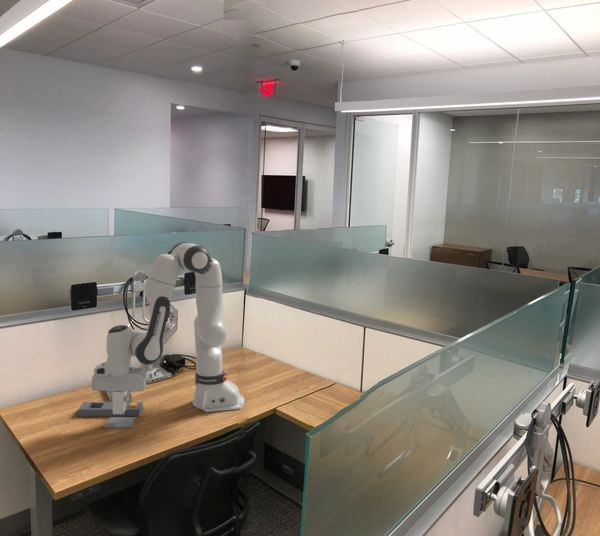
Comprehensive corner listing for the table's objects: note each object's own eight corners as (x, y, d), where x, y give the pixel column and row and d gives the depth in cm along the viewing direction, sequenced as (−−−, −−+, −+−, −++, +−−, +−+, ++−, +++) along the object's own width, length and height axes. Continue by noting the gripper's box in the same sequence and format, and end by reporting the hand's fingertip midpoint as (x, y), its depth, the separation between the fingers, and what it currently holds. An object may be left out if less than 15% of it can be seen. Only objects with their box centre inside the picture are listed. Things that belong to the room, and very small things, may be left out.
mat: (135, 418, 207) (135, 417, 207) (130, 428, 199) (130, 426, 199) (110, 418, 206) (110, 417, 206) (104, 428, 199) (104, 426, 198)
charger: (125, 409, 204) (125, 384, 202) (123, 414, 200) (122, 388, 198) (115, 409, 204) (115, 384, 202) (112, 414, 200) (112, 388, 198)
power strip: (142, 408, 216) (142, 400, 216) (139, 416, 209) (139, 407, 209) (84, 408, 214) (83, 400, 214) (78, 416, 207) (78, 407, 207)
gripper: (147, 364, 203) (147, 397, 205) (94, 363, 201) (95, 397, 203) (144, 370, 197) (144, 404, 199) (89, 369, 195) (90, 404, 197)
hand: (119, 400), depth 201 cm, fingers closed on charger, 4 cm apart
